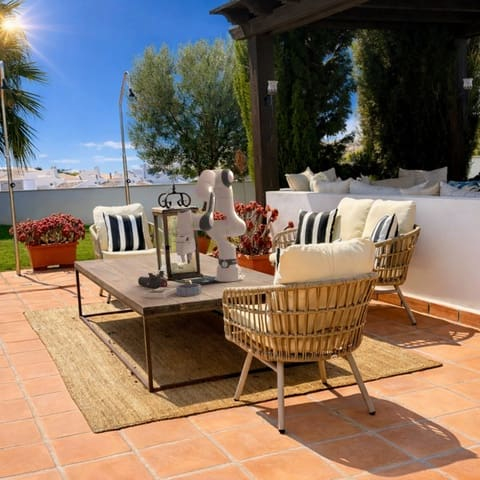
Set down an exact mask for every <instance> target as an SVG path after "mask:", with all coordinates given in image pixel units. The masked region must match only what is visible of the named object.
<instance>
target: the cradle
mask: <svg viewBox="0 0 480 480" xmlns="http://www.w3.org/2000/svg"><path fill="white" fill-rule="evenodd" d="M175 293H176V287H166V288H164V287H160V288H154V289H153V290H148V291H146V292H144V293H143V296H144V298H148V299H149V298H150V299H153V298H156V299H164V298H167V297H169V296H170V295H172V294H175Z"/></svg>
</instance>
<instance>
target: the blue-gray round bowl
mask: <svg viewBox="0 0 480 480" xmlns="http://www.w3.org/2000/svg"><path fill="white" fill-rule="evenodd" d="M175 288H176V292H175V293H176V296H179V297H193V296H199V295H200V293H202V285H201V284H200V283H199V284H198V283H192V288H185V283H182V284H179V285H176V286H175ZM198 294H199V295H198Z"/></svg>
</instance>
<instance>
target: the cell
mask: <svg viewBox="0 0 480 480" xmlns="http://www.w3.org/2000/svg"><path fill="white" fill-rule="evenodd" d="M184 284H185V288H192V284H193V283H192V280H191V279H186V280H184Z"/></svg>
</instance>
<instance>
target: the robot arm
mask: <svg viewBox="0 0 480 480" xmlns="http://www.w3.org/2000/svg"><path fill="white" fill-rule="evenodd" d="M234 176H235V175H234V173H233V171H232V170H231V169H230V168H223V169H222V168H219V169H218V168H217V169H211V170H210V169H205V170H204V169H203V171H202V172H201V173H200V175H199V177H198V178H197V180H196V181H197V182H196V184H195V186H194V194H195V196H196V197H197V198H198V199H199V200H200V201H203V202H206V208H205V212H203V213H194V212H192V209H190V208H182V209H179V210H178V211H177V218H176V219H177V221H176V222H177V227H178V229H177V236H176V237H175V240H174V241H175V249H176V255H177V256H180V259H181V263H186V262H187V260H186V255H187V254H188V260H189V261H190V260H193V254H194V253H193V252H195V251H196V250H197V248H196V239H194V238H195V237H194V231H205V232H206V235H207V236H208V237H210V238H211V239H213V241H214V242H215V244H216V246H217V250H218V260H217V263H218V265H217V266H216V277H215V278H214V281H217V282H223V283H224V282H228V283H230V282H236V281H237V282H238V281H243V280H244V278H245V276H246V275H245V274H242V269H241V267H240V265H239V264H238V259H239V258H238V257H237V251H236V250H237V249H236V245H235V244H234V243H232V242H230V241H228V240H227V239H226V238H230V237H231V238H232V237H239V236H240V237H241V236H243V235H245V233H246V231H247V223H246V222H245V221H244V220H243V219H242V218H240V217H239V216H238V214H237V212H236V209H235V205H234V191H233V188H232V187H233V186H232V185H233V183H234V179H235V177H234ZM214 189H215V192H214ZM215 210H216V211H217V212H218V213H219V214H221V215H223V216H225V217H226V219H218V220H217V219H216V220H215V212H216V211H215Z"/></svg>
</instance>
